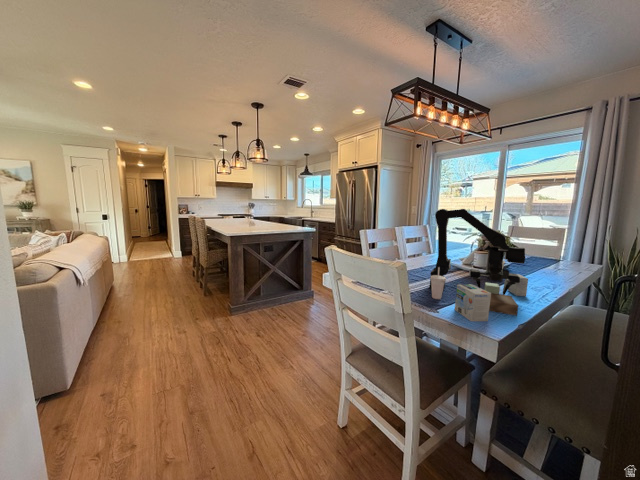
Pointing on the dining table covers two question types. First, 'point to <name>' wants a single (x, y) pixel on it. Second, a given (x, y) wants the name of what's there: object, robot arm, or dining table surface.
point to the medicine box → (519, 287)
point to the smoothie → (437, 285)
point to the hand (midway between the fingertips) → (491, 293)
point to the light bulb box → (472, 302)
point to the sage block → (492, 288)
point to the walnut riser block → (503, 304)
